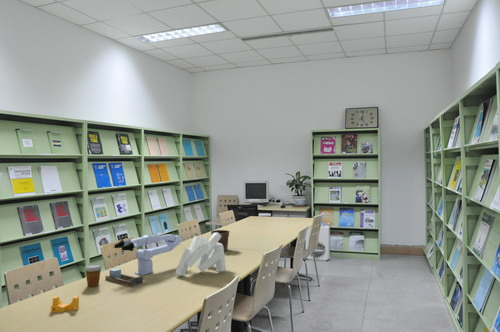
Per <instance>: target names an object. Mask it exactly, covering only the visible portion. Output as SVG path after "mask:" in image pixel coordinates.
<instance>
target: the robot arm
mask: <svg viewBox="0 0 500 332" xmlns="http://www.w3.org/2000/svg"><path fill="white" fill-rule="evenodd" d="M161 241H165V244H164V245H161V246H160V245H159V246H156V247H152V248H148V249H147V248H146V249H141V248H139V247H143V246H145V245H152V244H158V243H160V242H161ZM181 242H182V236H181V235H175V234H172V233H171V234H169V233H168V234H162V235H159V234H157V233H154V234H148V235H144V234H143V235H142V236H141V237H136V238H128V240H124V239H120V240H119V241H118V242H117V243H115V244H114V247H113V248H114V249H120V248H121V251H131V252H134V250H135V249H136V250H137V251H135V258H136V259H137V271H136V272H135V274H136V275H140V276H144V275H148V274H152V273H154V271H153V269H154V268H153V265H154V263H153V260H152V258H154V256H158V255H162V254H165V253H168V252H171V251H173V250H174V249H175V248H177V246H180V244H181ZM138 248H139V249H138Z"/></svg>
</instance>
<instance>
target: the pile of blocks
mask: <svg viewBox="0 0 500 332" xmlns="http://www.w3.org/2000/svg"><path fill="white" fill-rule="evenodd" d="M220 238H221V235H220V234H219V233H218V232H216V233H213V234H211V236H210V238H209V239H208V238H207V237H206V236H205V235H203V236H202V237H201V236H198V235H194V237H193V240H192V242H191V243H190V246H189V248H188V247H185V248H184V251H183V252H182V253H183V254H182V255H181V257H180V260H179V263H178V265H177V268H176V269H175V273H174V274H175V275H178V276H181V277H184V276H185V275H186V272H187V270H188V267H189V268H191V267H193V265H195V264H196V263H197V265H196V267H197V268H198V270H199V271H200V272H201V273H203V272H205V271H206V270H207V269H208V268H214V267H215V271H216V273H222V272H226V271H227V268H226V267H227V266H226V259H225V251H224V248H223V245H222V244H221V243H218V241H219V240H220ZM197 261H198V262H197Z"/></svg>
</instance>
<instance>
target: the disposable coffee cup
mask: <svg viewBox="0 0 500 332" xmlns="http://www.w3.org/2000/svg"><path fill="white" fill-rule="evenodd" d="M84 270H85V275H86V283H87V284H86V285H87V287H88V288H96V287H98V286H99V285H100V278H101V270H102V265H101V264H99V263H94V264H93V263H92V264H87V265H86V266H85V268H84Z"/></svg>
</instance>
